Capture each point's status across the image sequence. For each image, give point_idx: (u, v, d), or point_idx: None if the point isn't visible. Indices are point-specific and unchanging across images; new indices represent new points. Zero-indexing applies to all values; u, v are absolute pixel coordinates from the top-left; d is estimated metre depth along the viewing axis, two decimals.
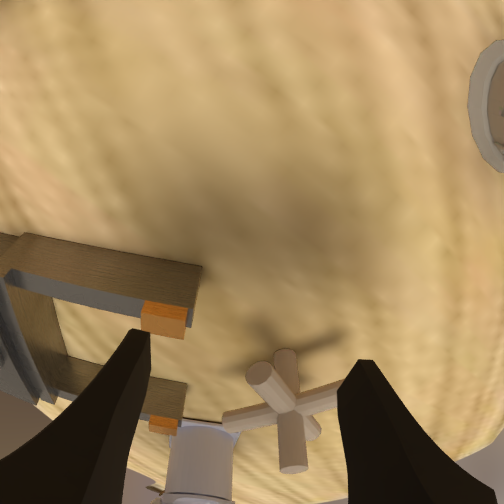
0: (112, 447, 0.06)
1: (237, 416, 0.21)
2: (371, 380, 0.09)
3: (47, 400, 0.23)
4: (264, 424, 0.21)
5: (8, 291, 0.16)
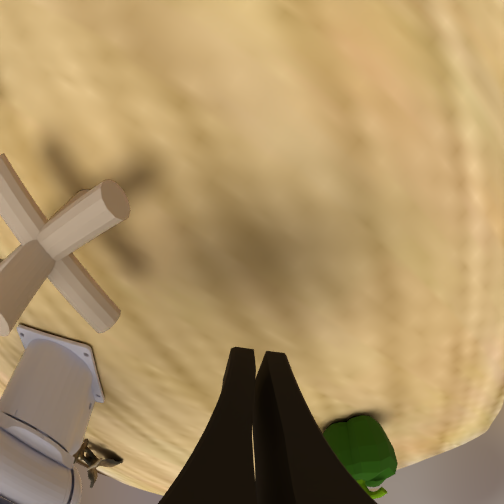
0: None
1: (0, 264, 0.13)
2: (272, 374, 0.09)
3: None
4: None
5: None
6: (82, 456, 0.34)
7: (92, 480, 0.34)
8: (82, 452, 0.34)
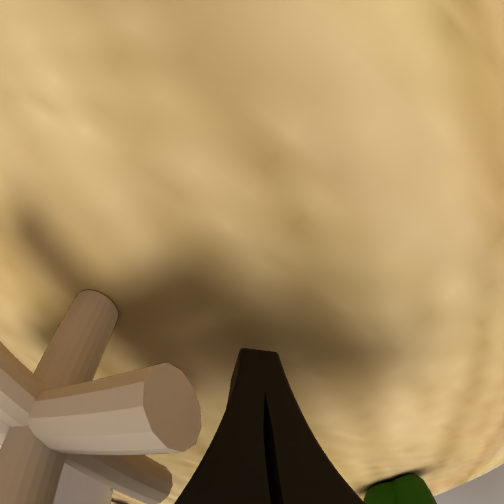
0: None
1: None
2: (263, 373, 0.09)
3: None
4: None
5: None
6: None
7: None
8: None
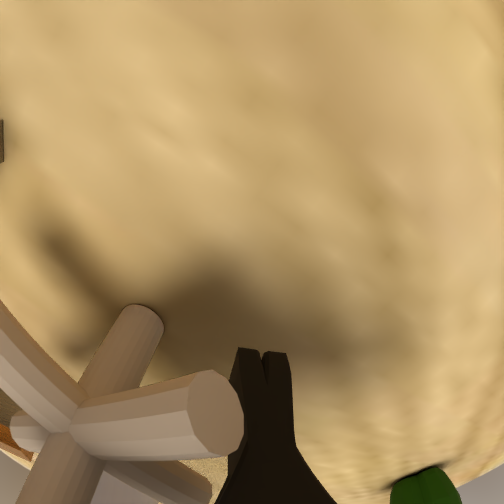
0: None
1: (21, 419, 0.08)
2: (241, 371, 0.09)
3: None
4: None
5: None
6: None
7: None
8: None
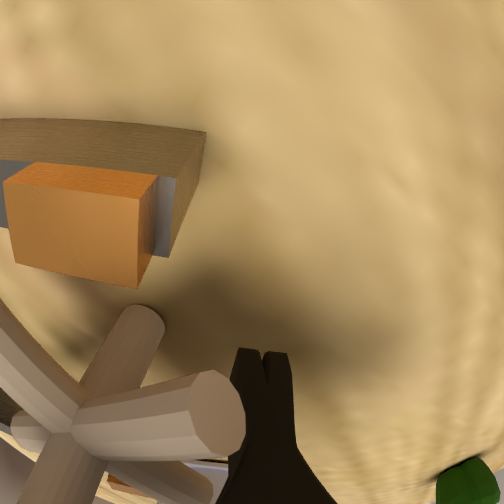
0: None
1: (21, 419, 0.08)
2: (241, 371, 0.09)
3: None
4: None
5: None
6: None
7: None
8: None
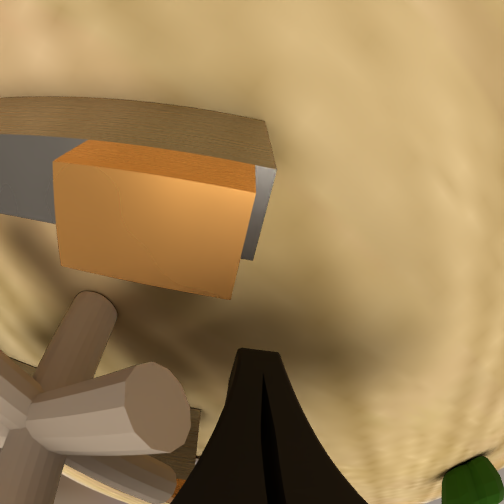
0: None
1: None
2: (265, 373, 0.09)
3: None
4: None
5: None
6: None
7: None
8: None
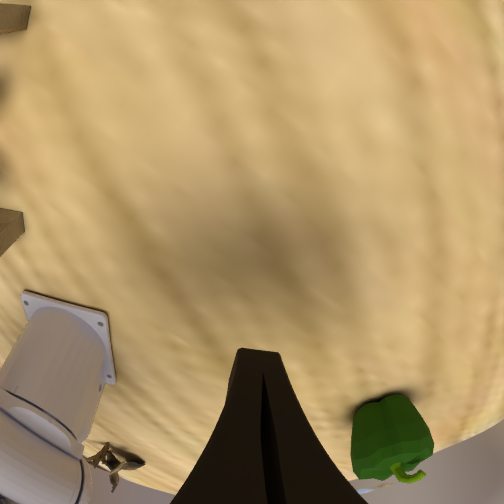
0: None
1: None
2: (265, 373, 0.09)
3: None
4: None
5: None
6: (104, 460, 0.33)
7: (114, 485, 0.33)
8: (103, 456, 0.34)
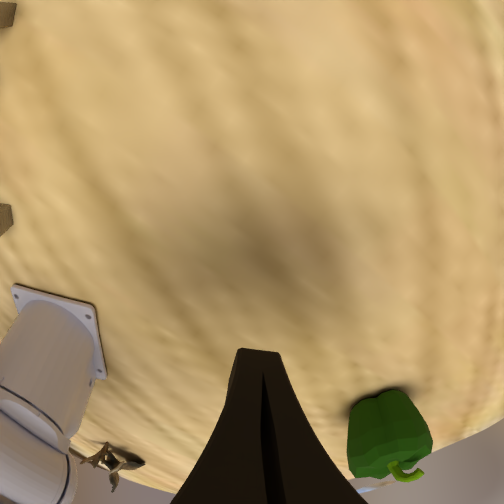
0: None
1: None
2: (265, 373, 0.09)
3: None
4: None
5: None
6: (103, 460, 0.33)
7: (114, 484, 0.34)
8: (103, 456, 0.34)
